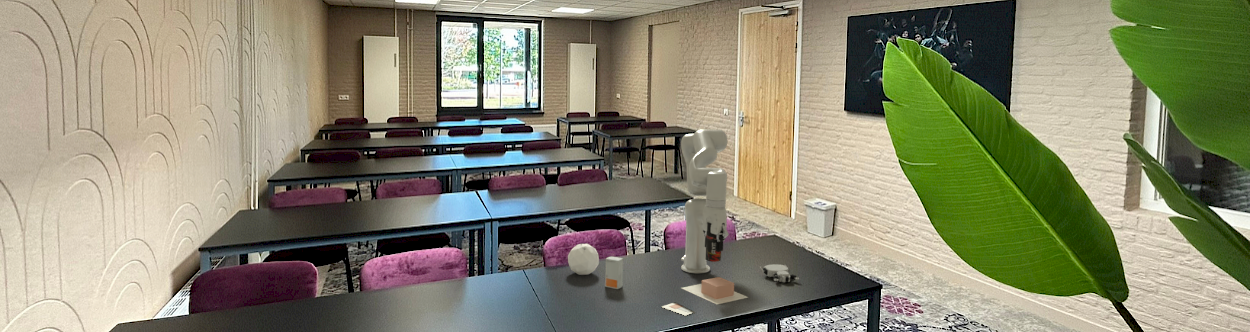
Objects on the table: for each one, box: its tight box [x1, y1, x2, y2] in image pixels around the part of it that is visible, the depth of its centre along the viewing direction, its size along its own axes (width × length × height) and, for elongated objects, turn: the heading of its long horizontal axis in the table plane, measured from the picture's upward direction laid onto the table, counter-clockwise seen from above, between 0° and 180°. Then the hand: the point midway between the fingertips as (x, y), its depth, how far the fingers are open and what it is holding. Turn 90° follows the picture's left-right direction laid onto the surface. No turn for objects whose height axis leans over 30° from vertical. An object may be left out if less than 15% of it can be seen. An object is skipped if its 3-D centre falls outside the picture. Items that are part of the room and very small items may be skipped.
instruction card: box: [661, 301, 696, 317], centre depth 270 cm, size 12×9×1 cm
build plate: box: [681, 283, 749, 305], centre depth 286 cm, size 22×16×1 cm
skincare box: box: [604, 256, 624, 290], centre depth 293 cm, size 6×4×12 cm
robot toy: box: [759, 264, 800, 283], centre depth 309 cm, size 12×4×15 cm
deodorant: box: [706, 222, 722, 263], centre depth 281 cm, size 6×6×15 cm
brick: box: [700, 276, 735, 299], centre depth 284 cm, size 9×9×5 cm
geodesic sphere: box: [567, 243, 600, 276], centre depth 308 cm, size 14×14×14 cm
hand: (713, 248), depth 282 cm, fingers closed on deodorant, 5 cm apart
